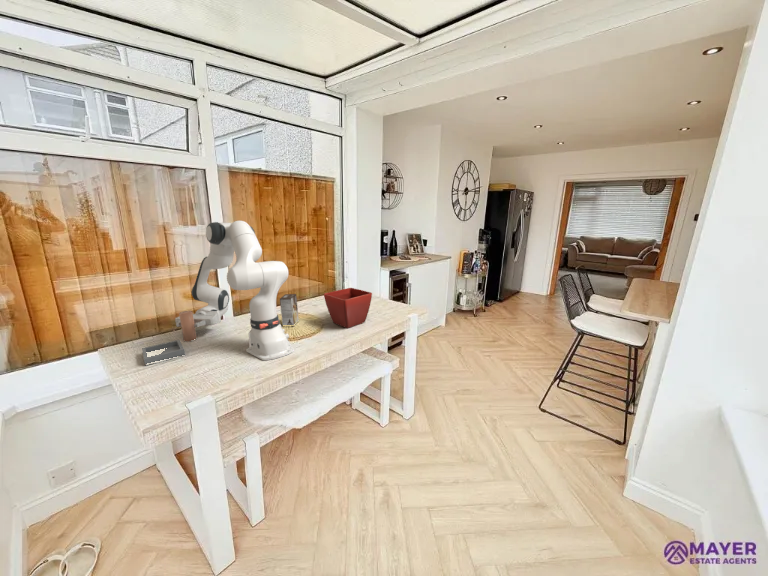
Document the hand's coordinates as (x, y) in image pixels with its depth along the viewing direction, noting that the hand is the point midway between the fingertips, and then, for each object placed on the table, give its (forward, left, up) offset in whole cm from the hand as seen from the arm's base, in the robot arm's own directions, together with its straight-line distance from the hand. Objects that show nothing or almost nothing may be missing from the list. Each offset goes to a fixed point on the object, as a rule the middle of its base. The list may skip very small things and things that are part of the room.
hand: (186, 325), depth 153 cm
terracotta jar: (+1, -1, -8) cm, 8 cm away
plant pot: (-33, -72, -8) cm, 79 cm away
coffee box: (-13, -47, -8) cm, 49 cm away
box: (-11, +11, -8) cm, 18 cm away
